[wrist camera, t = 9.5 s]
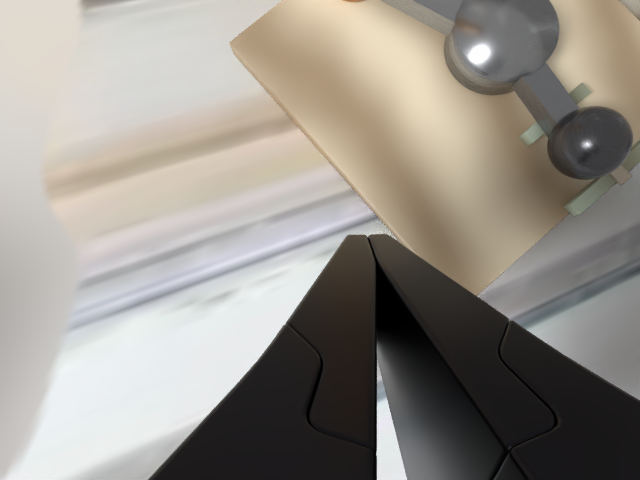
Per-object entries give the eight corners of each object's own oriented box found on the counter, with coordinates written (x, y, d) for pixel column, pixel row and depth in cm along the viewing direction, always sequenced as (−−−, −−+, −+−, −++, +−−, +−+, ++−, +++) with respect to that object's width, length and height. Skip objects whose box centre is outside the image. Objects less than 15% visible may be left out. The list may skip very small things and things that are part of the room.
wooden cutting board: (462, 312, 19) (475, 315, 18) (233, 54, 21) (225, 33, 19) (696, 104, 20) (730, 87, 19) (461, -129, 22) (473, -164, 20)
